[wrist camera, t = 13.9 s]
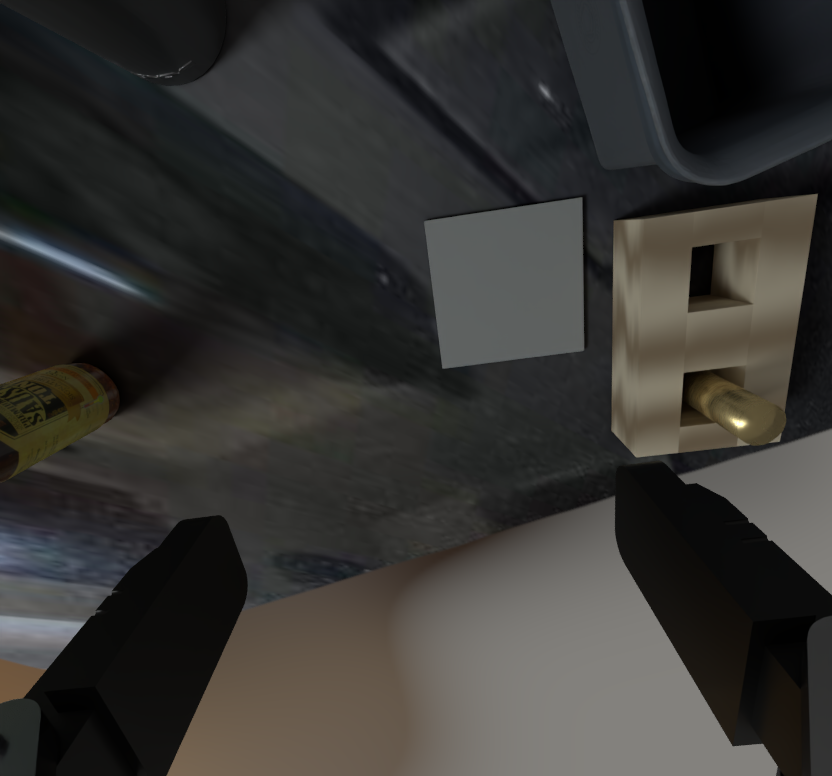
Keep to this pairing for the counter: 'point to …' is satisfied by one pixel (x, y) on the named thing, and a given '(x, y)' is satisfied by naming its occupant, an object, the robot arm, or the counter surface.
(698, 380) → the peg
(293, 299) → the counter surface
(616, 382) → the hole block
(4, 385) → the sauce bottle
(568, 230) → the mat
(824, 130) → the storage bin
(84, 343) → the counter surface
